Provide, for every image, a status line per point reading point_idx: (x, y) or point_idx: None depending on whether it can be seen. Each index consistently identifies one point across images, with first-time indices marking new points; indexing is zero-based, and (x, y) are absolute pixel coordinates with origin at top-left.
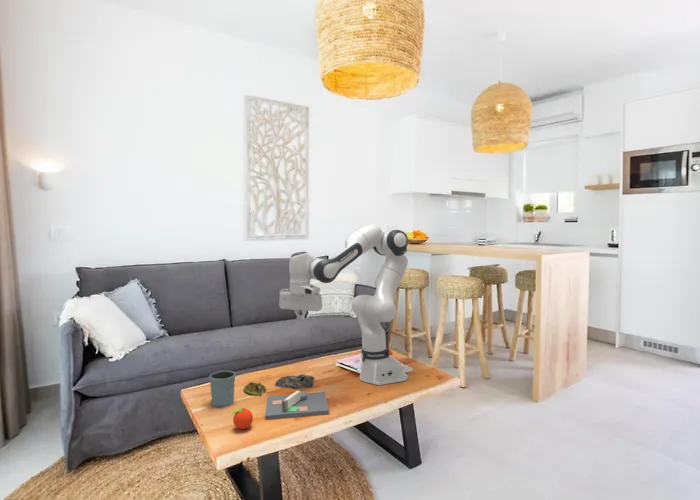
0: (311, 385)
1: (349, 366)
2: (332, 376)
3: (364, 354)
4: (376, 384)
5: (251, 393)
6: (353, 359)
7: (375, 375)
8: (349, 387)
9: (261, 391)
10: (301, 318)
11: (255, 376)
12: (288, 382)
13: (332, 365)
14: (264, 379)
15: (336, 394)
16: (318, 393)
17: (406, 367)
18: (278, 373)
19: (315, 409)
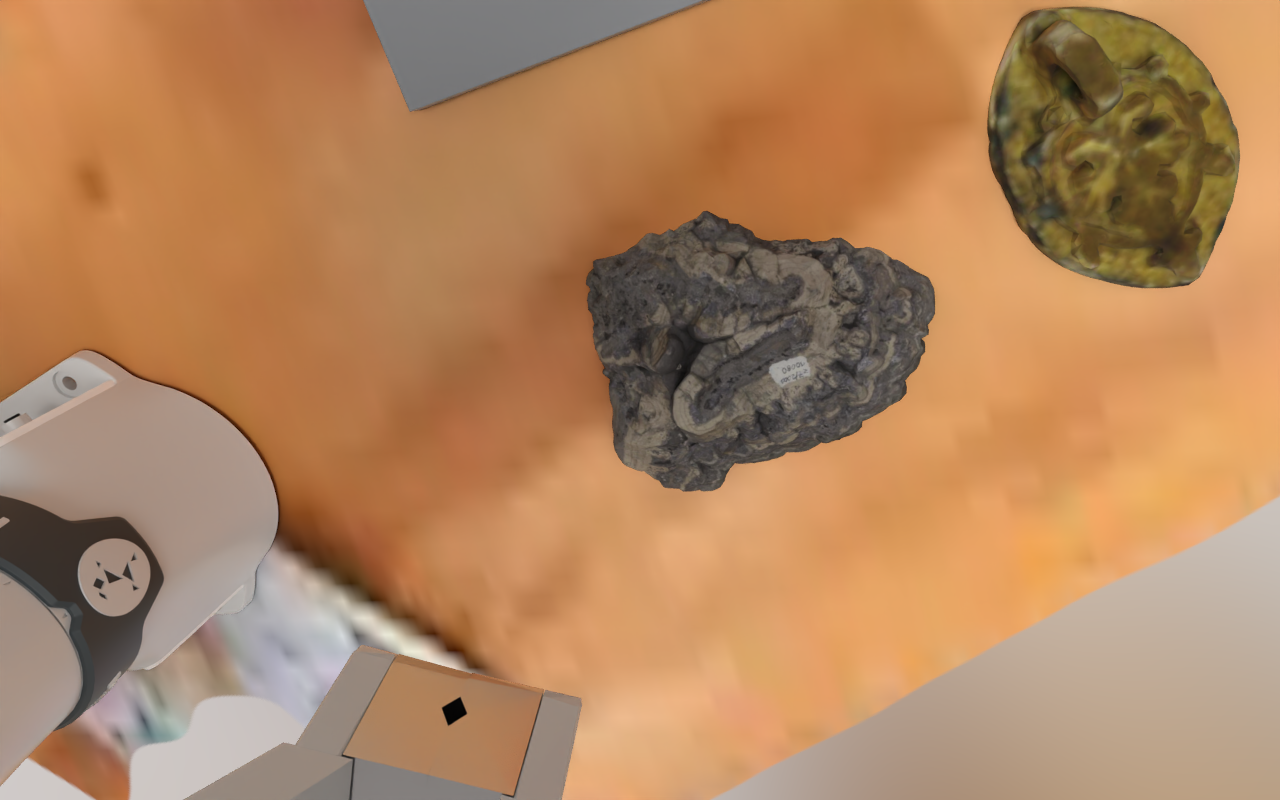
0: (594, 297)
1: None
2: (486, 500)
3: (42, 546)
4: (96, 355)
5: (1131, 19)
6: None
7: (63, 404)
8: (282, 296)
9: (1031, 75)
10: (381, 688)
11: (1161, 467)
12: (798, 278)
13: None
14: (1060, 407)
15: (331, 139)
16: (450, 61)
17: None
18: (955, 539)
19: None
